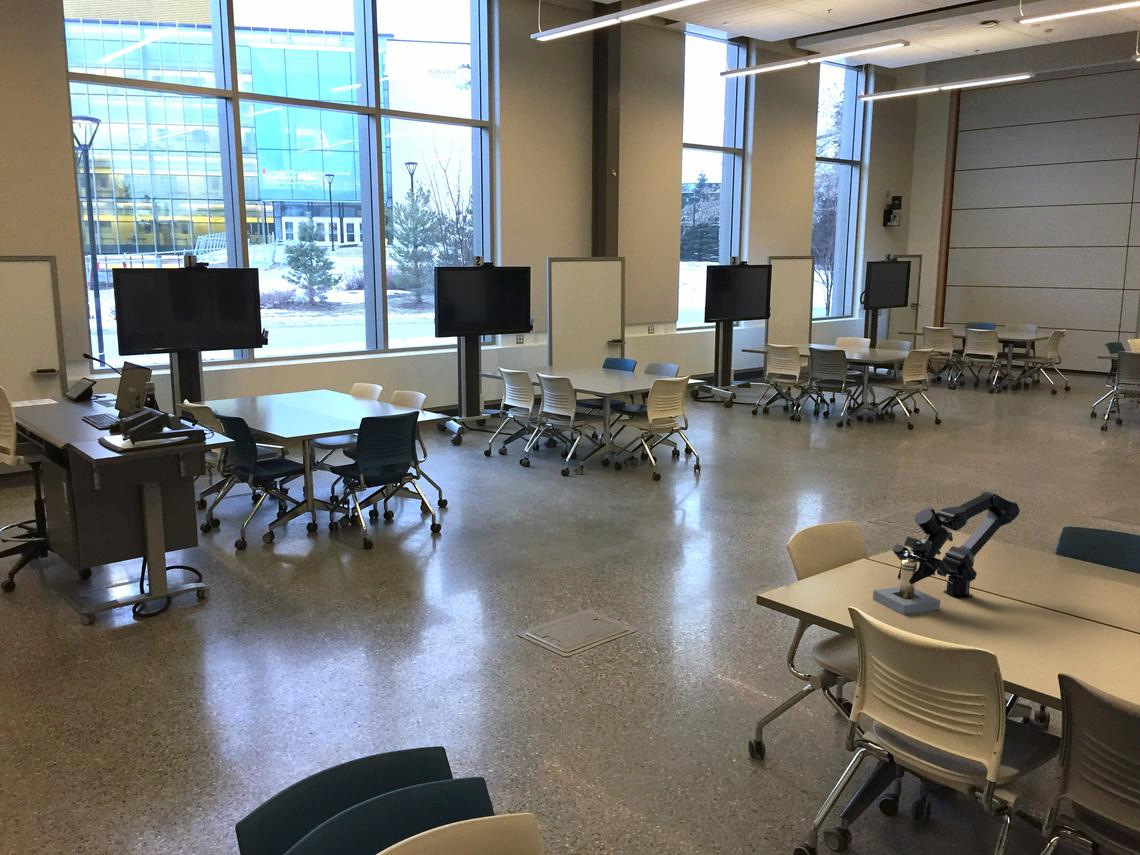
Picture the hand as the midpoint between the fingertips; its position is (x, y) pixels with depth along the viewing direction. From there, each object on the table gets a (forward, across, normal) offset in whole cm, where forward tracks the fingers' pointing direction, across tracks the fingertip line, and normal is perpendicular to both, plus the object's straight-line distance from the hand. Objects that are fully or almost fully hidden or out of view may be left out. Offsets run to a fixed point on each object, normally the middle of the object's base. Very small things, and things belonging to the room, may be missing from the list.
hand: (904, 580), depth 278 cm
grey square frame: (+5, 0, +6) cm, 8 cm away
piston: (+4, 0, +6) cm, 7 cm away
